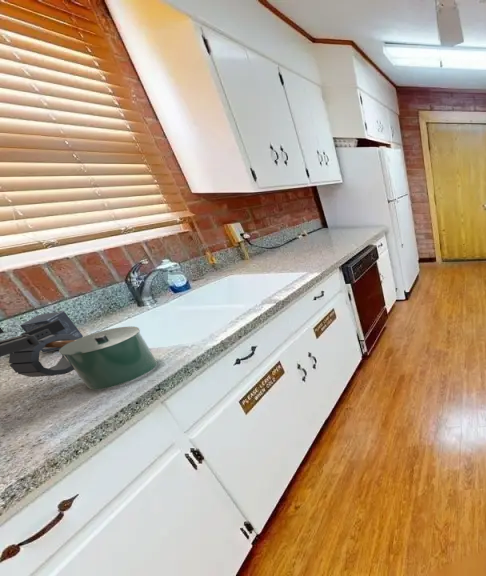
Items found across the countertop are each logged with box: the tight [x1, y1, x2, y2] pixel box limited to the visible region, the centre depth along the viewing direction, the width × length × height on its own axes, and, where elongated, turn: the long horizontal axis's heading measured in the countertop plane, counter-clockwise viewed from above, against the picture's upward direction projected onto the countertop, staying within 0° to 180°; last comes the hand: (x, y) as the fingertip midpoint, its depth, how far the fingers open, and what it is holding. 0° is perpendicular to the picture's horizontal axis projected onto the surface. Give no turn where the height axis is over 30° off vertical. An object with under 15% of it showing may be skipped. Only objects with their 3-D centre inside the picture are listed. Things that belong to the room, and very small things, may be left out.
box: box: [19, 310, 84, 353], centre depth 96 cm, size 8×6×11 cm
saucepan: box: [43, 326, 158, 391], centre depth 82 cm, size 27×14×13 cm, turn 97°
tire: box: [8, 334, 79, 378], centre depth 80 cm, size 11×5×11 cm, turn 7°
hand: (30, 326), depth 77 cm, fingers open, 13 cm apart
